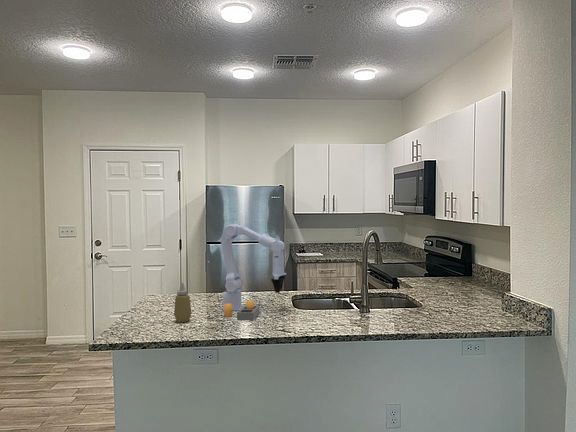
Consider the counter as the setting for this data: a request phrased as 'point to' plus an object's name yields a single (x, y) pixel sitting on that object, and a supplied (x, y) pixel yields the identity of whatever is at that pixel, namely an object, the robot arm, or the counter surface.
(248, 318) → the housing
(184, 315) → the squeeze bottle
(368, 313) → the counter surface
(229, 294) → the robot arm
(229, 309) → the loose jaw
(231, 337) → the counter surface
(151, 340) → the counter surface
